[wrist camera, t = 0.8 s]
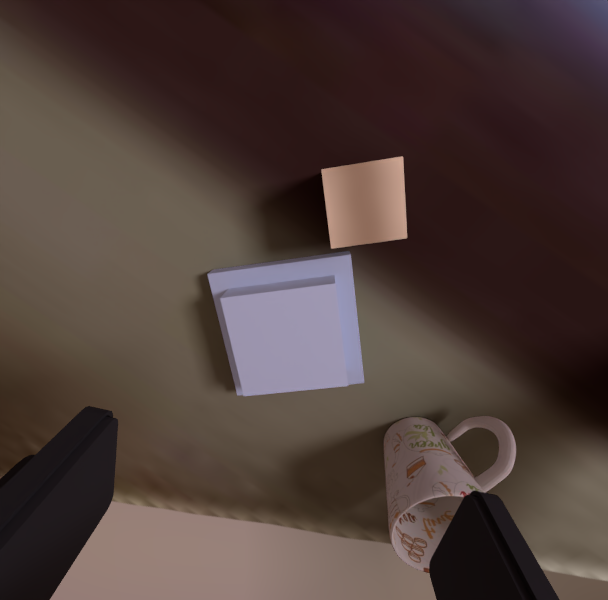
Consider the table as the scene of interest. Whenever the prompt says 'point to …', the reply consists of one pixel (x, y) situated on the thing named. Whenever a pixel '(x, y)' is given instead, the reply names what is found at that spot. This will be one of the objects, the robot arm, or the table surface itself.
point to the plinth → (289, 324)
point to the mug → (433, 481)
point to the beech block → (365, 202)
